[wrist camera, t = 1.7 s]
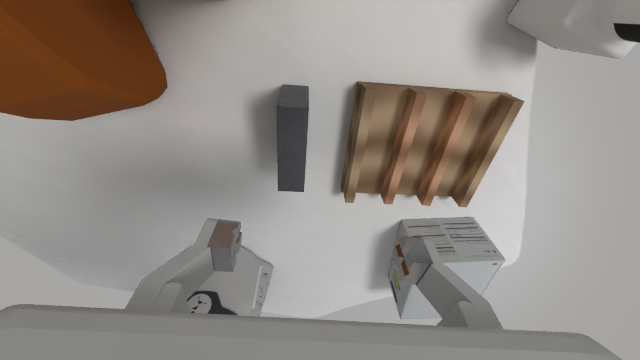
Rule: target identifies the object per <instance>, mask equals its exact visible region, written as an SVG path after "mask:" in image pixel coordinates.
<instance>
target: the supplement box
mask: <svg viewBox="0 0 640 360" xmlns="http://www.w3.org/2000/svg"><path fill="white" fill-rule="evenodd" d="M401 236H409V237H420V238H430V239H431V240H432V241H433V243H434V245H435V247H436V250H437V252H438V254H439V256H440V258H441V260H442V262H443V264H444V265H445V266H448V267H449V268H450V269H451V270H452V271H453V272H455V273H456V274H457V275H458V276H459V277H460V278H461V279H463V280H464V281H465V282H466V283H467V284H468V285H469V286H471V287H472V288H473V289H474V290H475V291H476V292H477V293H479V294H480V295H482V294H483V292H484V290H485V289H486V287H487V286H488V285H489V283H490V281H491V280H492V278H493V277H494V275H495V274H496V272H497V271H498V269H499V268H500V266H501V265H502V264H503V263H504V261H505V258H504V257H503V256H502V254H501V253H500V252H499V250H498V249H497V248H496V246H495V245H494V244H493V243H492V241H491V240H490V239H489V237H488V236H487V235H486V233H485V232H484V231H483V229H482V228H481V227H480V225H479V224H478V223H477V222H476V220H475V219H474V218H473V217H469V218H438V219H409V220H401V224H400V228H399V232H398V237H397V241H396V245H398V244H399V241H398V240H399V238H400V237H401ZM396 245H395V246H396ZM397 270H398V267H397V266H396V265H395V264H394V260H393V257H392V261H391V265H390V269H389V274H388V278H389V281H390V285H391V288H392V292H393V295H394V299H395V302H396V306H397V309H398V313H399V316H400V319H423V318H441V316H440V315H439V313H438V312H437V311H436V310H435V309H434V307H433V306H432V305H431V304H430V302H429V301H428V300H427V299H426V298H425V296H424V295H423V294H422V293H421V291H420V290H419V289H418V288H417V287H416V285H410V284H400V281H399V277H398V274H397Z"/></svg>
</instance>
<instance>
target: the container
mask: <svg viewBox="0 0 640 360" xmlns="http://www.w3.org/2000/svg"><path fill="white" fill-rule="evenodd" d="M506 20H507V22H508V23H509V24H511V25H513V26H515V27H516V28H518V29H520V30H522V31H524V32H526V33H527V34H529V35H531V36H533V37H535V38H537V39H538V40H540V41H542V42H544V43H546V44H547V45H549V46H551V47H553V48H556V49H562V50H569V51H574V52H580V53H587V54H593V55H598V56H604V57H610V58H616V59H619V58H622V57H624V56H625V55H626V54H627V53H628V52H629V51H630V50H631V49H632V48H633V47H634V45H636V44H637V42H640V0H519V1H518V2H517V4H516V5H515V7H514V8H513V10H512V11H511V13H510V14H509V16H508V17H507V19H506Z"/></svg>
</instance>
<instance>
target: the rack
mask: <svg viewBox="0 0 640 360" xmlns="http://www.w3.org/2000/svg"><path fill="white" fill-rule="evenodd" d="M523 103H524V101H522V100H520V99H518V98H515V97H513V96H512V95H510V94H508V93H500V92H487V91H474V90H461V89H449V88H436V87H423V86H410V85H397V84H384V83H371V82H358V84H357V90H356V96H355V103H354V109H353V115H352V121H351V127H350V134H349V140H348V146H347V152H346V158H345V165H344V171H343V177H342V183H341V192H343V193H344V198H345V203H354V198H355V193H380V194H381V197H382V199H383V202H384V204H392V203H393V200H394V197H395V194H405V195H417V197H418V199H419V201H420V202H421V204H422V205H427V206H430V204H431V202H432V200H433V198H434V196H451V197H452V198H453V199H454V201H455V202H456V203H457V204H458V206H459V207H467V206H468V204H469V202H470V200H471V198H472V196H473V195H474V193H475V191H476V189H477V187H478V185H479V184H480V182H481V180H482V178H483V176H484V174H485V173H486V171H487V169H488V167H489V165H490V163H491V162H492V160H493V158H494V156H495V154H496V152H497V151H498V149H499V147H500V145H501V143H502V141H503V140H504V138H505V136H506V134H507V132H508V130H509V129H510V127H511V125H512V123H513V121H514V119H515V118H516V116H517V114H518V112H519V110H520V108H521V107H522V105H523Z"/></svg>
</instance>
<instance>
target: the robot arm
mask: <svg viewBox="0 0 640 360" xmlns="http://www.w3.org/2000/svg"><path fill="white" fill-rule="evenodd" d="M240 229H241V222H238V221H230V220H221V219H211V218H208V219H207V220H206V222H205V224H204V226H203V228H202V230H201V232H200V234H199V237H198V239H197V241H196V243H195V245H194V246H189V247H188V248H187V249H185V250H184V251H182V252H181V253H180V254H178V255H177V256H175V257H174V258H172V259H171V260H170V261H168V262H167V263H165V264H164V265H162V266H161V267H160V268H158V269H157V270H155V271H154V272H153V273H151V274H150V275H148V276H147V277H145V278H144V279H143V280H142V281H141V283H140V284H139V286H138V288H137V289H136V291H135V293H134V294H133V296H132V298H131V299H130V301H129V303H128V304H127V306H126V308H125V309H109V308H90V307H72V306H71V307H70V306H53V305H52V306H51V305H33V304H19V305H13V306H9V307H6V308H4V309H2V310H0V360H622V359H621V358H619V357H618V356H616V355H615V354H613V353H612V352H611V351H609V350H608V349H607V348H605V347H604V346H602V345H601V344H599V343H598V342H596V341H595V340H593V339H592V338H590V337H588V336H586V335H584V334H580V333H568V332H547V331H527V330H508V329H503V328H502V326H501V324H500V322H499V320H498V318H497V317H496V315H495V313H494V311H493V309H492V307H491V306H490V304H489V302H488V301H487V300H485V299H484V298H483V297H482V296H481V295H480V294H479V293H477V292H476V291H475V290H474V289H473V288H472V287H471V286H469V285H468V284H467V283H466V282H465V281H464V280H463V279H461V278H460V277H459V276H458V275H457V274H456V273H455V272H453V271H452V270H451V269H450V268H449V267H448V266H445V265H444V264H443V262H442V260H441V258H440V256H439V254H438V252H437V250H436V247H435V245H434V243H433V241H432V240H431V239H430V238H420V237H409V236H401V237H400V238H399V240H398V241H399V244H398V245H396V246H395V248H394V250H393V260H394V264H395V265H396V266H397V267H398V270H397V274H398V277H399V281H400V284H410V285H416V287H417V288H418V289H419V290H420V291H421V293H422V294H423V295H424V296H425V298H426V299H427V300H428V301H429V302H430V304H431V305H432V306H433V307H434V309H435V310H436V311H437V312H438V313H439V315H440V316H441V317H442V318H443V319H442V320H441V321H440V322H439V323H438V324H437V325H436V326H432V325H413V324H394V323H375V322H356V321H336V320H318V319H299V318H280V317H261V316H260V315H261V309H262V306H263V302H264V299H265V295H266V292H267V288H268V285H269V281H270V278H271V274H272V270H273V266H272V265H271V264H269V263H267V262H264V261H262V260H260V259H258V258H257V257H256V256H255V255H254V254H253V253H251V252H250V251H248V250H246V249H245V248H242V247H240V246H241V239H242V233H241V232H240ZM251 315H255V316H251Z"/></svg>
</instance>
